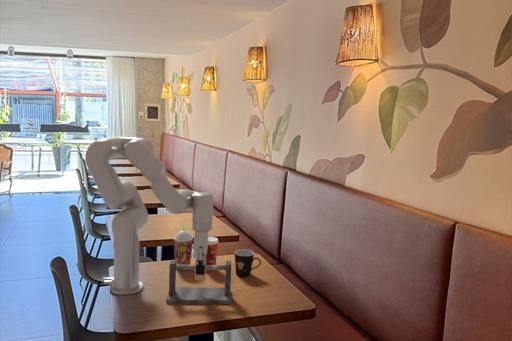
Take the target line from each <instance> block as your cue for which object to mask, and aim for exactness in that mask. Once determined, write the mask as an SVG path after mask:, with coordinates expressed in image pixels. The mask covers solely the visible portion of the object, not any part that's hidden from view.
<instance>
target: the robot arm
mask: <svg viewBox="0 0 512 341" xmlns="http://www.w3.org/2000/svg"><path fill="white" fill-rule="evenodd" d="M154 146H155V145H154V144H153V143H152V141H151V140H149V139H147V138H144V137H138V138H137V137H127V136H126V137H125V136H110V137H104V138H99V139H97V140H96V139H95V141H93V142H92V143H91V144H89V146H88V147H87V149H86V151H85V158H84V159H85V164H86V168H87V169H88V171H89V173H90V175H91V177H92V179H93V180H94V183H95V185H96V188H97V189H98V192H99V194H100V195H101V198H102V200H103V202H104V204H105V205H106V207H107V208H108V209H110V210H118V209H121V211H119V212H118V213H117V214H116V215H115V216H114V217H113V218H112V222H111V231H112V237H113V238H112V239H113V276H111V277H107V276H104V277H102V283H103V284H104V285H110V286H109V292H111V293H112V294H114V295H119V296H122V295H123V296H126V295H127V296H128V295H133V294H137V293H138V292H141V291H142V290H143V289H144V283H143V282H142V281H140V238H139V234H138V231H139V230H140V229H141V228H143V227H144V226H145V225H146V224H147V223H148V222H149V213H148V210H147V207H146V205H145V203H144V201H143V199H142V197H141V194H140V193H139V190H138V189H137V187H136V185H134V184H133V182H132V183H131V182H130V181H127V180H121V179H120V178H119V176H118V173H117V171H116V170H115V168H114V166H112V165H111V163H110V161H111V160H115V159H126V160H128V162H130V163H131V165H133V167H134V168H135V169H136V170H137V171H138V172H139V173H140V174H141V175H142V176H143V177H144V178H145V179H146V181H148V183H149V187H150V188H151V190H152V192H153V194H154V196H155V197H156V199H157V200H158V201H159V202H160V203H161V204H162V205H163V206H164V207H165V208H166V209H167V210H168V211H169V212H171V213H172V214H175V215H180V214H184V213H185V212H186V211H188V210H191V209H192V215H191V216H192V218H191V219H192V220H191V221H192V222H191V230H193V231H194V233H193V251H192V252H193V254H192V255H193V256H192V257H193V258H196V256H197V264H196V275H204V274H205V264H204V258H205V257H206V255H207V249H208V237H210V236H209V234H210V231H212V230H213V214H214V195H213V194H212V193H210V192H206V191H195V190H192V189H188V188H187V189H181V190H177V189H176V188H175V187H174V186H173V185H172V183H171V182H170V180H169V179H168V175H167V166H166V164H164V162H163V161H162V160H160V158H158V156H157V155H155V147H154ZM203 255H204V256H203ZM202 258H203V259H202Z"/></svg>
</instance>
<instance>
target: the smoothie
mask: <svg viewBox="0 0 512 341" xmlns="http://www.w3.org/2000/svg"><path fill="white" fill-rule="evenodd" d="M193 241H194V237H193V236H192V234H191V233H190V231H188V230H185V224H184V223H183V224H182V230H179V231H178V232H176V234H175V235H174V236H173V245H174V247H173V248H174V260H176V265H191V259H192V252H193V251H192V247H193ZM179 270H182V269H179ZM182 271H183V270H182Z"/></svg>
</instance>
